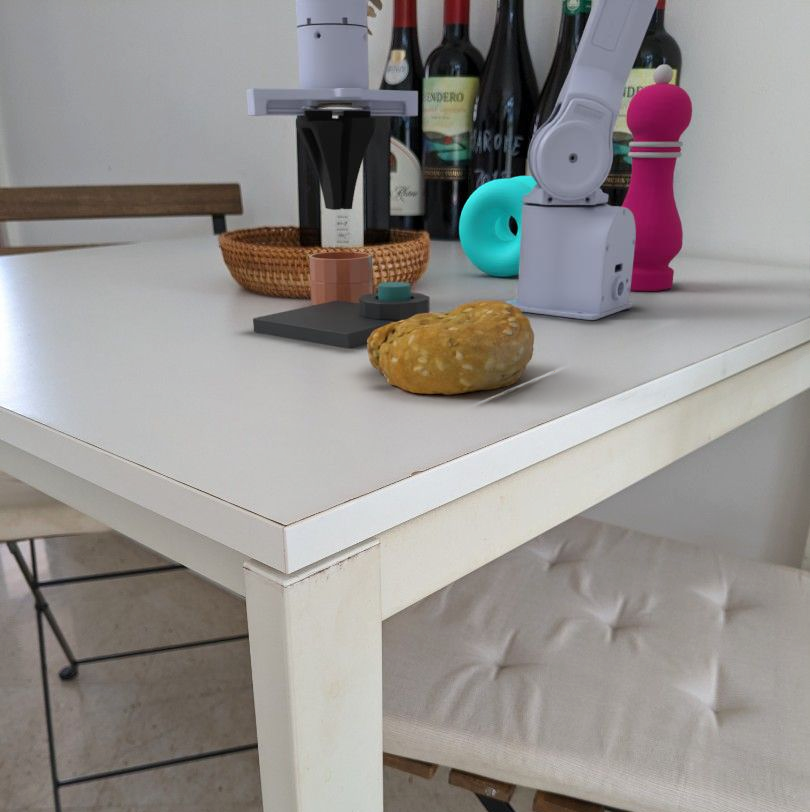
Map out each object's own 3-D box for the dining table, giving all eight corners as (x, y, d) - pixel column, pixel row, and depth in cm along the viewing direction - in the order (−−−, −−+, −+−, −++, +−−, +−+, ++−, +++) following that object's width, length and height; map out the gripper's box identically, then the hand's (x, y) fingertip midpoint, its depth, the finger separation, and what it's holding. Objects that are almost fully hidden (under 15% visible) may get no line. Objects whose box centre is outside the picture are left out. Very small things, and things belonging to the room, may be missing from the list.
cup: (385, 305, 79) (384, 254, 77) (345, 314, 75) (343, 261, 73) (339, 299, 82) (337, 250, 80) (298, 308, 78) (295, 256, 76)
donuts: (565, 268, 100) (572, 175, 95) (541, 281, 91) (547, 180, 87) (484, 264, 103) (487, 174, 99) (454, 275, 95) (456, 178, 91)
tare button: (417, 300, 69) (417, 283, 68) (397, 305, 67) (397, 287, 66) (391, 297, 70) (391, 280, 70) (371, 302, 68) (371, 284, 68)
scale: (441, 327, 70) (442, 295, 69) (357, 351, 62) (356, 316, 61) (342, 312, 76) (341, 283, 75) (253, 333, 68) (251, 301, 67)
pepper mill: (685, 284, 89) (714, 64, 80) (664, 294, 83) (692, 60, 75) (618, 279, 92) (639, 68, 84) (593, 288, 87) (613, 63, 78)
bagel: (428, 352, 62) (428, 284, 60) (561, 377, 55) (567, 301, 53) (332, 381, 55) (329, 304, 53) (473, 412, 48) (475, 327, 46)
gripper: (259, 18, 63) (272, 215, 69) (434, 27, 69) (433, 208, 74) (234, 28, 69) (248, 209, 75) (397, 35, 74) (399, 203, 80)
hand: (338, 208), depth 75 cm, fingers closed
